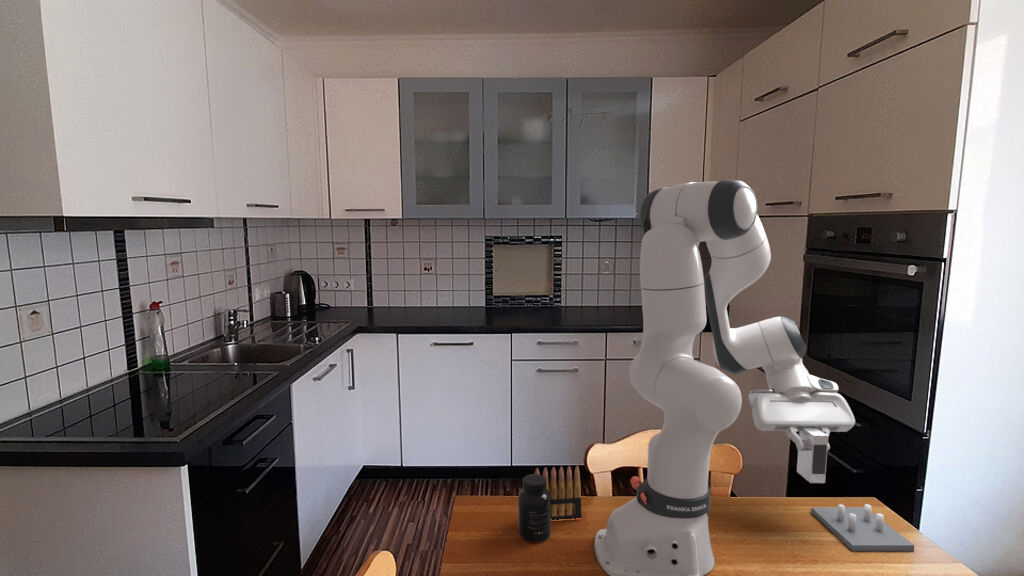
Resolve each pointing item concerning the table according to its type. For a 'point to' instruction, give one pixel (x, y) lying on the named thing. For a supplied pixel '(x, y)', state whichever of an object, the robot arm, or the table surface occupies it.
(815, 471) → the block
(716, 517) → the table surface
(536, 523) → the supplement bottle
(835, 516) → the pin tray
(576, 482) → the ammunition clip
